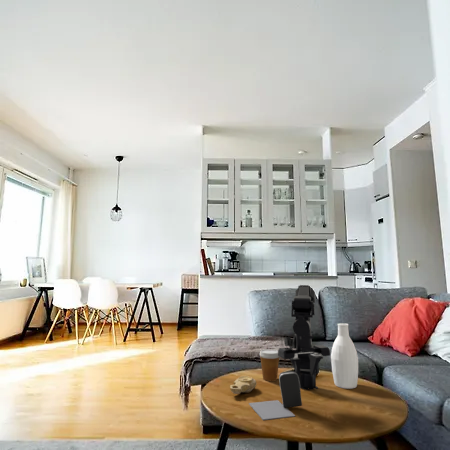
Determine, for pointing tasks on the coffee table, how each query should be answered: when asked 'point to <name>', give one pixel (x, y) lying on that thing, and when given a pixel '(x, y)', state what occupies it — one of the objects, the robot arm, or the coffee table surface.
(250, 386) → the oil lamp
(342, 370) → the bottle
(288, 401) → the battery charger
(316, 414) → the coffee table surface
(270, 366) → the disposable coffee cup
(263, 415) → the mat
